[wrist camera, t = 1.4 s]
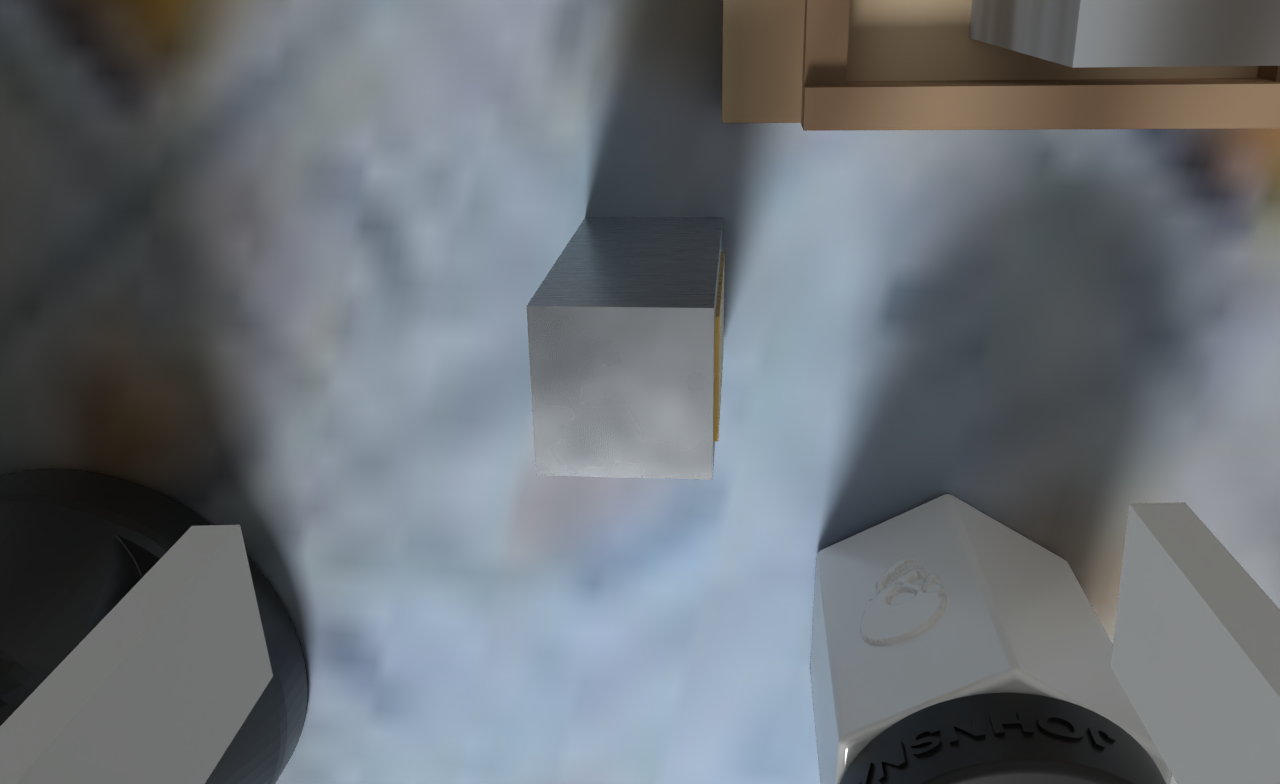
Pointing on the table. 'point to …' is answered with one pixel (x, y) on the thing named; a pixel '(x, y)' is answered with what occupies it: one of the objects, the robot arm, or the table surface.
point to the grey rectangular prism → (630, 350)
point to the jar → (965, 661)
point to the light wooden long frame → (1002, 64)
